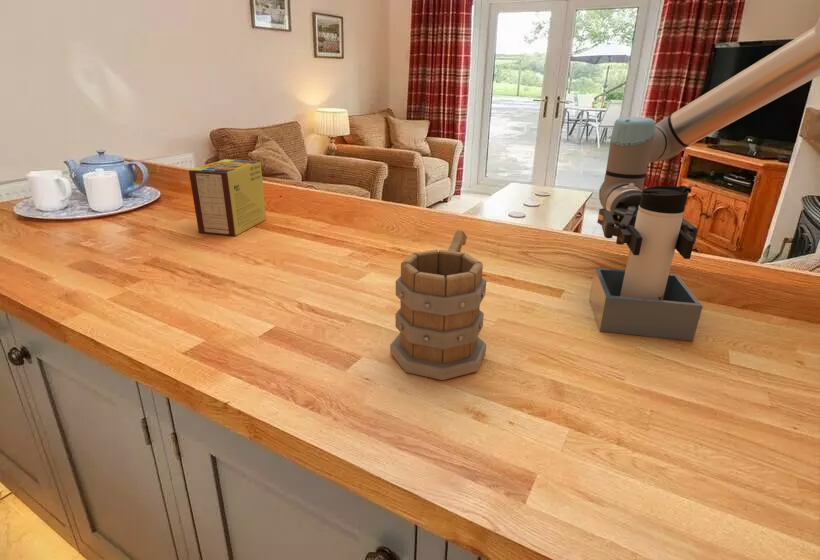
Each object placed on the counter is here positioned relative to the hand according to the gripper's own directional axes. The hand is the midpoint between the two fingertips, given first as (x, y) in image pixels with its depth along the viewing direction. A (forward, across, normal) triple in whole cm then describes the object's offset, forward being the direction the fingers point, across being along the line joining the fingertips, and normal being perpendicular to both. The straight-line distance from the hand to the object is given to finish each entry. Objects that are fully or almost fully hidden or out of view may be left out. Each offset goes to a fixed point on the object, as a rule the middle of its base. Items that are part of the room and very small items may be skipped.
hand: (663, 248), depth 71 cm
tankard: (+10, -30, +14) cm, 35 cm away
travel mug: (-5, 0, +12) cm, 13 cm away
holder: (-5, 0, +14) cm, 15 cm away
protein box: (-36, -91, +14) cm, 99 cm away
